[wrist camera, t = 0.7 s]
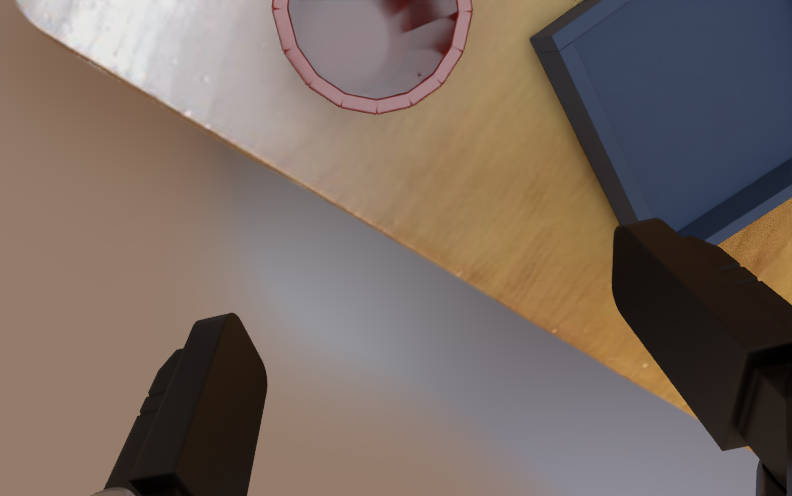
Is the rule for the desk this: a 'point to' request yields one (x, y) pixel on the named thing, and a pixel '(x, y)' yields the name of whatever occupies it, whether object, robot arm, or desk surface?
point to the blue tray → (679, 106)
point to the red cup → (373, 48)
